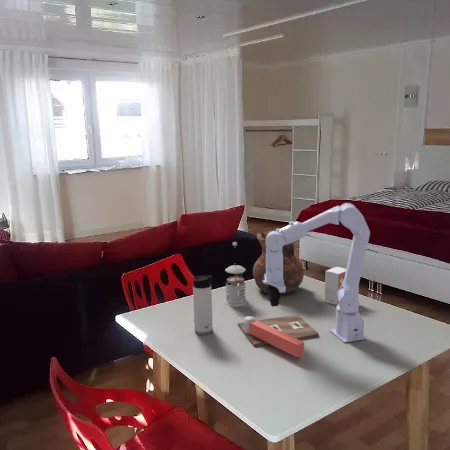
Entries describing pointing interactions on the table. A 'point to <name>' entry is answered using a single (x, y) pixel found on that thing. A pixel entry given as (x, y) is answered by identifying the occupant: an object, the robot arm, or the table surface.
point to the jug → (290, 266)
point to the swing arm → (274, 336)
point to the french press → (235, 286)
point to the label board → (284, 328)
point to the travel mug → (202, 304)
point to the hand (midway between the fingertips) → (274, 305)
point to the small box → (333, 284)
